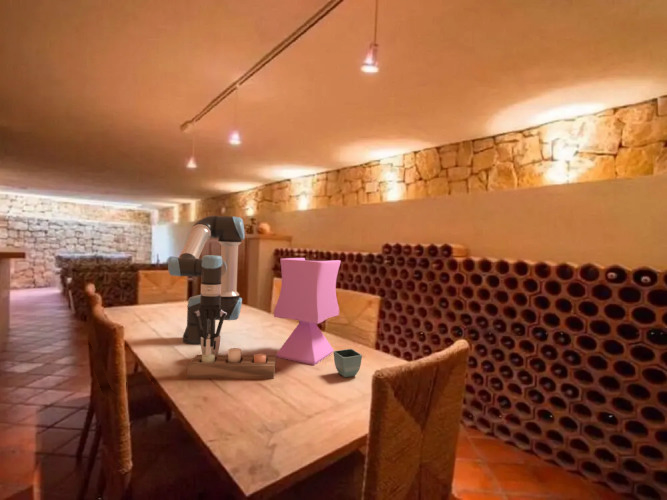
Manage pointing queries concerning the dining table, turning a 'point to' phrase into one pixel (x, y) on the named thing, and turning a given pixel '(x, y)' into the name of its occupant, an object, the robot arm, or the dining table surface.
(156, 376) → the dining table surface
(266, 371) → the brown wooden long block
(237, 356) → the peach rounded knob
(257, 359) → the button terracotta
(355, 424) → the dining table surface
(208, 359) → the button sage
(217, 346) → the cup
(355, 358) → the flower pot
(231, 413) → the dining table surface
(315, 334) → the pink table lamp
